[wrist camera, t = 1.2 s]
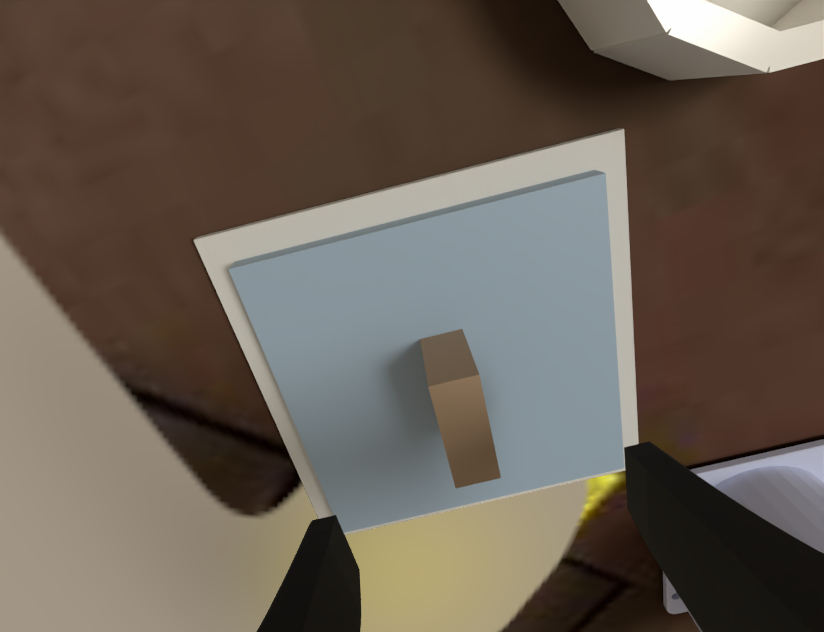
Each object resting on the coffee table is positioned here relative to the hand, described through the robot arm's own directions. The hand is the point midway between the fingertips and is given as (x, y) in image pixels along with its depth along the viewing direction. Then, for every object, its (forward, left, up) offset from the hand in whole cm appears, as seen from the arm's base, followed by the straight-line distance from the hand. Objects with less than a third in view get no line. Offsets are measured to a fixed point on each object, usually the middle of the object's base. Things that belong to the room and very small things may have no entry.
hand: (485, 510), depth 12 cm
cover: (0, 0, -7) cm, 7 cm away
